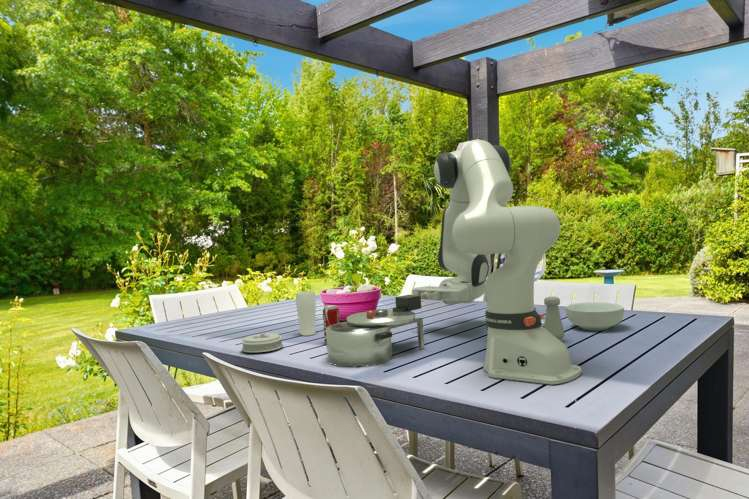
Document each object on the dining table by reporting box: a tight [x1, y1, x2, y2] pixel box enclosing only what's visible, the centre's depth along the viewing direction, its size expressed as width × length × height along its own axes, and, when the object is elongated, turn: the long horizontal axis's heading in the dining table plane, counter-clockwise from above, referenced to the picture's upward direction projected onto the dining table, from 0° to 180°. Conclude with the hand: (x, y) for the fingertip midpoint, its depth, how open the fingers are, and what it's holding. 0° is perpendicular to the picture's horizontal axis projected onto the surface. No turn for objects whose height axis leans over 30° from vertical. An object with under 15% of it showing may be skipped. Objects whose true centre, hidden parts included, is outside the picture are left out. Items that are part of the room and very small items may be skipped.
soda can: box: [322, 304, 341, 345], centre depth 165 cm, size 5×5×12 cm
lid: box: [241, 332, 284, 354], centre depth 162 cm, size 13×13×5 cm
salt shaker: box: [543, 296, 565, 342], centre depth 148 cm, size 6×6×13 cm
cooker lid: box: [346, 294, 422, 327], centre depth 151 cm, size 20×25×5 cm
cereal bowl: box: [565, 301, 625, 332], centre depth 163 cm, size 17×17×7 cm
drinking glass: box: [295, 290, 317, 337], centre depth 181 cm, size 7×7×15 cm
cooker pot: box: [326, 317, 425, 367], centre depth 147 cm, size 22×27×9 cm
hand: (424, 296), depth 162 cm, fingers closed
